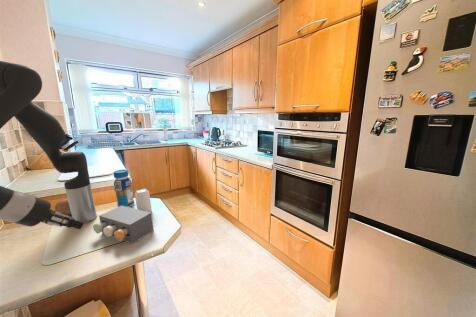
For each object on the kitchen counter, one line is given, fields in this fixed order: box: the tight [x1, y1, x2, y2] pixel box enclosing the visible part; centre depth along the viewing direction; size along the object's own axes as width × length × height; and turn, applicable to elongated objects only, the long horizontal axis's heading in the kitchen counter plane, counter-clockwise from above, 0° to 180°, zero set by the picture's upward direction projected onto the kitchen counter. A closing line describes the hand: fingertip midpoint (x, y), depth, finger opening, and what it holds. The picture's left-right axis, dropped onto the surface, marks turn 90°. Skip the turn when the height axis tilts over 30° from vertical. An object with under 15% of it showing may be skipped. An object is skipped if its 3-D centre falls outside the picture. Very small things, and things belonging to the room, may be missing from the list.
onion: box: [54, 196, 72, 216], centre depth 100 cm, size 10×9×10 cm
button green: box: [93, 221, 108, 234], centre depth 80 cm, size 4×5×4 cm
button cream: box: [103, 224, 118, 238], centre depth 77 cm, size 4×5×4 cm
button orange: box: [114, 228, 129, 242], centre depth 75 cm, size 4×5×4 cm
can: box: [134, 187, 152, 213], centre depth 99 cm, size 6×6×12 cm
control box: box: [98, 206, 154, 244], centre depth 83 cm, size 19×10×8 cm, turn 66°
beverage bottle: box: [112, 169, 135, 208], centre depth 107 cm, size 8×8×20 cm
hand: (81, 226), depth 67 cm, fingers closed
